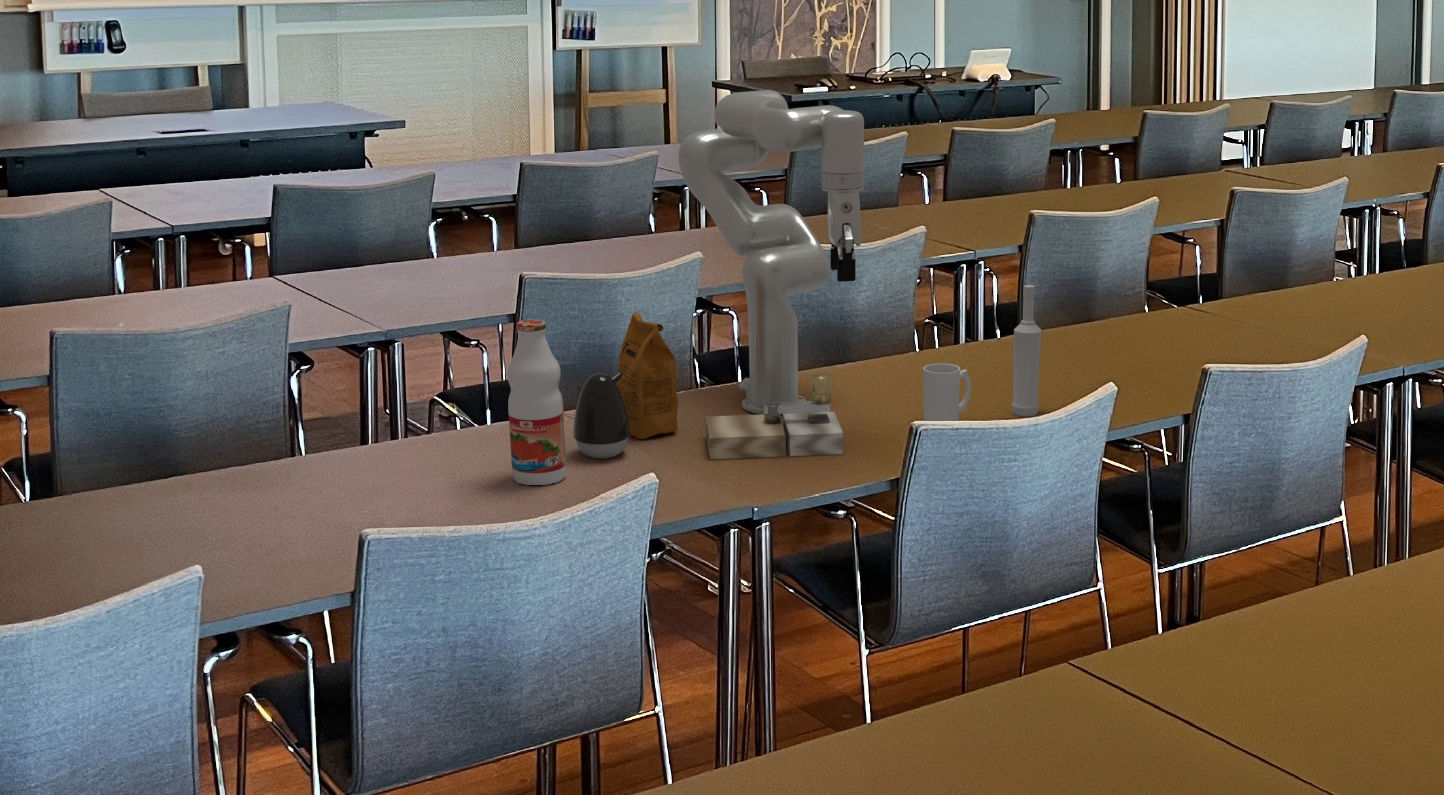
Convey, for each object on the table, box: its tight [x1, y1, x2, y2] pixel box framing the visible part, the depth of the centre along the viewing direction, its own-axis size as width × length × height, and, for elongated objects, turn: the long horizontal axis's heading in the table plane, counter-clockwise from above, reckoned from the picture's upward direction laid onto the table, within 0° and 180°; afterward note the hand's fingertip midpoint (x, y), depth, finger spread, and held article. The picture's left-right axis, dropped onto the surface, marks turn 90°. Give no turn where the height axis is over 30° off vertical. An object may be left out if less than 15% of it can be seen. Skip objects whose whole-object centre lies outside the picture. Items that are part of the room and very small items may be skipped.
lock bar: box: [764, 372, 832, 423], centre depth 303 cm, size 12×4×8 cm, turn 93°
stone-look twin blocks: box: [705, 411, 844, 460], centre depth 303 cm, size 24×13×5 cm, turn 93°
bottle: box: [1011, 284, 1043, 417], centre depth 316 cm, size 5×5×25 cm
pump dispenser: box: [572, 371, 631, 460], centre depth 299 cm, size 10×10×15 cm
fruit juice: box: [506, 318, 567, 486], centre depth 285 cm, size 9×9×28 cm
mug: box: [922, 363, 972, 422], centre depth 310 cm, size 10×7×12 cm, turn 118°
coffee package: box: [616, 311, 679, 440], centre depth 312 cm, size 10×12×22 cm
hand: (842, 275), depth 301 cm, fingers open, 9 cm apart
